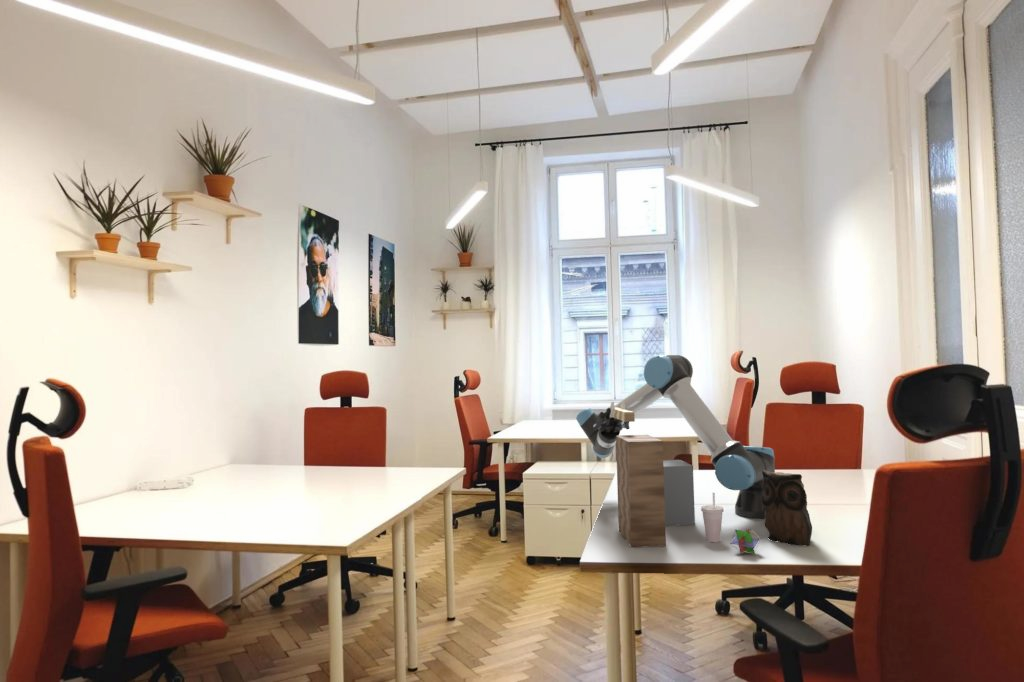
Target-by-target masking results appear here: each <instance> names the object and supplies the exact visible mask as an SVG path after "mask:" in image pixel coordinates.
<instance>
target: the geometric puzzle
mask: <svg viewBox="0 0 1024 682" xmlns="http://www.w3.org/2000/svg"><path fill="white" fill-rule="evenodd" d="M733 534H735V537H734V538H732V539H731V541H730V542H729V544H730V545H731V546H734V549H735V548H736V549H737V547H736V546H738V548H739V549H738V550H739V553H740V556H744V555H746V553H747V554H748V553H749V554H756V551H757V550H755V549H756V548H755V547H756V546H758V545H757V544H759V542H760V540H761V539H760V537H759V536H758V534H757V533H756V532H755V531H754V530H752V529H750V528H749V527H748V528H747V527H746V529H745V530H741V529H735V530H734V533H733ZM735 545H736V546H735Z"/></svg>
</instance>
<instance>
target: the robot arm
mask: <svg viewBox="0 0 1024 682" xmlns="http://www.w3.org/2000/svg"><path fill="white" fill-rule="evenodd" d="M693 370H694V369H693V365H692V363H691V361H690V360H689V359H688V358H687V357H685V356H683V355H679V354H657V355H655V356H652V357H651V358H649V359H648V360H647V361H646V363H645V365H644V370H643V379H644V380H645V382H646V383H645V384H643V385H642V386H641V387H639V388H638V389H636V390H635V391H634V392H632V393H631V394H629V395H628V396H627V397H625V398H624V399H622V400H621V401H619V402H618V403H616V404H615V402H614V401H612V402H611V403H610V406H609V407H610V408H608V407H607V408H606V411H605V412H604V411H601V412H599V413H598V412H597V413H596V412H595V411H594V410H593V409H592V408H590V407H586V408H584V409H583V410H581V411H580V412H579V413H578V414H576V421H577V423H578V424H579V427H580V428H581V429H582V431H583V432H584V434H585V435H586V437H587V438H588V439H589V441H590V443H591V445H592V447H593V448H592V451H593V453H594V455H595V456H597V457H598V458H601V459H606V458H608V457H610V456H611V455H612V453H613V452H614V449H615V447H616V436H620V435H621V434H620V433H621V431H622V430H623V429H626V430H630V422H625V421H622V420H619V419H616V418H613V417H612V416H613V413H614V410H615V407H617V408H621V409H625V410H629V411H632V412H634V416H636V415H637V414H639V413H640V412H642V410H644V409H646V408H647V407H650V405H652V404H654V403H655V402H656V401H658V400H659V399H661V398H664V399H669V400H670V401H671V402H672V403H673V404H674V406H675V407H676V408H677V410H678V411H679V413H680V414H681V415H682V417H683V418H684V419H685V421H686V422H687V424H688V425H689V426H690V427H691V430H692V431H694V433H695V435H696V436H697V437H698V439H699V440H700V441H701V442H702V444H703V445H704V446H705V448H706V449H707V451H708V452H709V454H711V458H710V463H712V465H713V466H714V470H715V471H714V473H715V477H716V479H717V481H718V482H719V483H720V484H721V485H722V487H724V488H726V489H727V490H731V491H739V492H738V494H737V498H736V501H735V505H734V513H735V514H736V515H738V516H741V515H742V517H747V518H753V517H754V518H755V519H765V507H764V505H763V503H762V495H763V474H762V471H763V470H765V471H767V472H774V473H776V471H775V469H776V468H775V460H776V457H775V453H774V452H775V451H774V449H773V448H771V447H765V446H750V445H747V446H746V445H743V444H742V442H741V441H738V440H734V439H733V438H732V437H731V436H730V434H729V433H728V432H727V430H726V429H725V428H724V427H723V425H722V424H721V423H720V421H719V420H718V419H717V418H716V416H715V415H714V414H713V412H712V411H711V410H710V409H709V407H708V406H707V404H706V403H705V402H704V400H703V399H702V398H701V397H700V395H699V394H698V393H697V391H696V390H695V389H694V387H693V386H692V384H691V381H692V377H693V373H694V371H693Z"/></svg>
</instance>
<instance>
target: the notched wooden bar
mask: <svg viewBox="0 0 1024 682" xmlns="http://www.w3.org/2000/svg"><path fill="white" fill-rule="evenodd" d="M607 408H610V406H608V407H607ZM612 417H613V418H616V419H619V420H622V421H625V422H629V423H630V422H633V423H634V422H635V415H634V412H632V411H629V410H625V409H621V408H617V407H615V410H614V413H613V416H612Z"/></svg>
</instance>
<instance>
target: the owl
mask: <svg viewBox="0 0 1024 682" xmlns="http://www.w3.org/2000/svg"><path fill="white" fill-rule="evenodd" d="M762 474H763V495H762V503H763V505H764V507H765V518H764V528H765V529H767V532H768V538H769V539H770V540H769V539H768V538H767V539H768V540H769V541H771V540H772V541H771V542H776V541H778V543H781V544H786V545H788V544H790V545H789V546H803V545H806V546H805V547H810V546H811V539H812V534H813V533H812V532H813V524H812V522H811V517H810V513H809V511H808V509H807V508H808V501H807V500H808V499H807V498H808V496H807V493H806V489H805V485H804V483H803V481H802V478H803V475H802V474H799V473H798V474H797V473H789V472H782V471H781V472H780V471H775V473H774V472H767V471H765V470H763V471H762ZM809 545H810V546H809Z"/></svg>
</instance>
